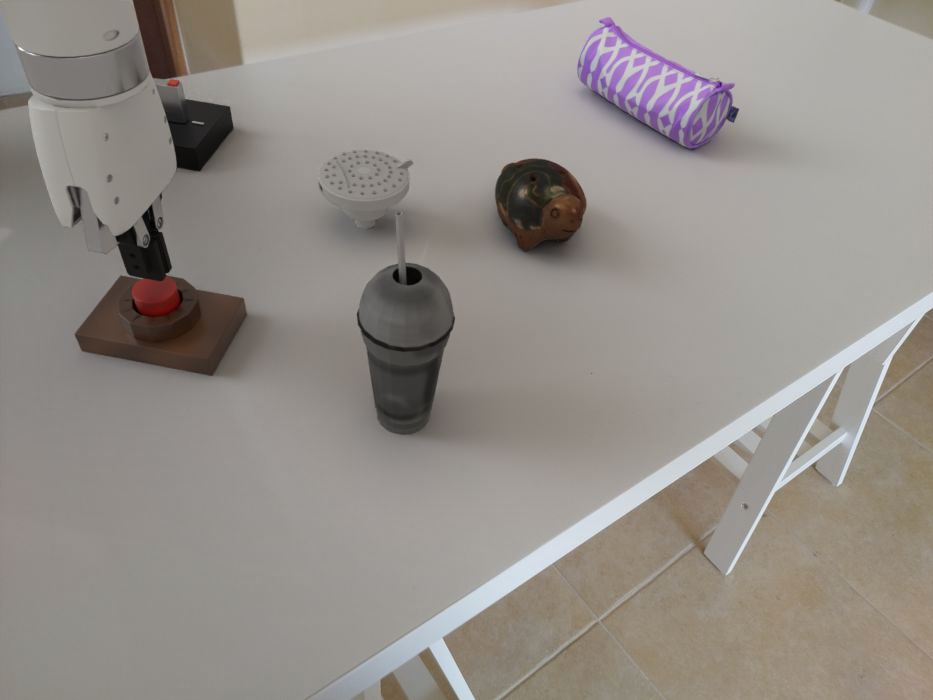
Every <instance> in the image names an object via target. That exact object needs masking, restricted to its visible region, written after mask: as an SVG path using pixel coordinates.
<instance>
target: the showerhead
mask: <svg viewBox="0 0 933 700" xmlns="http://www.w3.org/2000/svg"><path fill="white" fill-rule="evenodd" d="M413 165H414V161H413V160H412V159H411V158H407V159H405V160H403V161H401V160H400V159H399V158H397V157H395V156H394V155H392V154H389V153H386V152H383V151H378V150H372V149H354V150H347V151H343V152H339V153H337V154H333V155H332V156H331V157H329V158H327V159H326V160H324V162H322V164H321V165H320V167H319V168H318V171H317V179H318V189H319V191H320V193H321V195H322V196H323V198H324V199H326V200H327V201H328V202H330V203H332V204H333V205H335V206H337V207H340V208H342V211H343V213H344V214H345V215H346V216H347V217H349V218H351V219H352V220H354V224H355V226H356V227H358V228H359V229H365V230H367V229H372V228H373V227H375V225H376V220H377V219H380V218H381V217H383V216H384V215H385V214H387V213H386V212H387V210H388V208H391V207H393V206H395V205H397V204H398V203H400V202H401V201H403V200H404V198H406V196H407V195H408V192H409V190H410V180H411V179H410V178H411V174H410V171H409V168H410V167H411V166H413Z"/></svg>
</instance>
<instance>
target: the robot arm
mask: <svg viewBox="0 0 933 700" xmlns="http://www.w3.org/2000/svg"><path fill="white" fill-rule="evenodd" d="M0 11H1V13H2V16H3V18H4V21H5V24H6V26H7V30H8V32H9V35H10V37H11V39H12V43H13V45H14V48H15V50H16V51H15V52H16V53H17V55H18V59H19V62H20V64H21V67H22V69H23V72H24V75H25V78H26V80H27V83H28V86H29V89H30V91H31V93H32V95H31V97H29V99H28V100H27V105H28V116H29V122H30V127H31V128H30V129H31V134H32V140H33V143H34V147H35V152H36V155H37V159H38V163H39V166H40V170H41V174H42V177H43V180H44V184H45V187H46V189H47V192H48V196H49V198H50V201H51V204H52V208H53V210H54V212H55V214H56V217H57V220H58V222H59V223H60V224H61V226H62V227H64V228H69V229H73V228H74V227H75V226H76V225H77V224H79V223H80V222H81V223H82V228H83V234H84V239H85V245H86V250H87V251H88V252H91V253H97V254H102V255H107V254H108V253H111V251H113V250H114V249H116V248H118V251H119V254H120V256H121V260H122V262H123V265H124V268H125V271H126V274H128V275H129V277H132V278H138V279H143V278H144V279H150V280H156V281H163V280H164V279H165V277H166V275H167V274H169V273H170V272H171V271H172V269H173V265H172V262H171V258H170V254H169V252H168V248H167V247H168V246H167V244H166V240H165V236H164V233H163V231H161V230H162V229H163V227H164V224H165V219H164V213H163V206H162V199H163V192H164V190H165V189H166V187H168V185H169V183H170V182H171V180H172V179H173V177H174V176H175V174H176V171H177V168H178V167H177V164H176V155H175V150H174V145H173V140H172V136H171V132H170V128H169V125H168V121H167V118H166V114H165V111H164V108H163V105H162V102H161V99H160V96H159V93H158V91H157V88H156V85H155V83H154V80H153V78H154V77H153V75H152V73H151V70H150V66H149V62H148V57H147V54H146V50H145V45H144V41H143V37H142V32H141V29H140V25H139V21H138V16H137V13H136V8H135V5H134V0H0Z"/></svg>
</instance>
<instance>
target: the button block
mask: <svg viewBox="0 0 933 700" xmlns="http://www.w3.org/2000/svg"><path fill="white" fill-rule="evenodd" d="M166 276H167V277H169V278H171V279H173V280H174V281H175V283H176V286H177V290H178V293H179V297H180V304H179V306H178V308H177V309H176V310H175V311H173V312H171V313H170V314H168V315H164V316H158V317H148V316H144V315H142V314H141V313H140V312H139V311H138V310H137V307H136V304H135V301H134V298H133V295H132V289H133V287H134V285H135V284H136V283H137V282H138V281H140V280H141V279H142V278H139V277H133V276H127V275H119V277H118V278H117V279H116V280H115V282H114V283H113V284H112V286H111V287H109V289H108V290H107V292H106V293H105V295H104V296H103V297H102V298H101V300H100V301H99V302H98V303H97V304H96V306H95V307H94V308H93V310H92V311H91V312H90V313H89V315H88V316H87V317H86V318H85V320H84V321H83V322H82V323H81V325H80V326H79V327H78V329H77V330H76V331H75V332H74V337H75V340H76V341H77V344H78V347H79V348H80V351H81V352H84V353H90V354H94V355H100V356H106V357H110V358H116V359H121V360H126V361H131V362H137V363H142V364H148V365H153V366H157V367H162V368H168V369H172V370H173V369H174V370H178V371H183V372H189V373H193V374H194V373H195V374H199V375H205V376H209V377H213V376H214V374H215V372H216V370H217V369H218V367H219V365H220V364H221V361H222V360H223V358H224V356H225V354H226V353H227V351H228V349H229V348H230V346H231V344H232V342H233V341H234V339H235V337H236V335H237V334H238V331H239V330H240V328H241V327H242V325H243V323H244V321H245V320H246V318H247V316H248V313H247V306H246V302H245V301H246V300H245V298H244V297H240V296H235V295H229V294H225V293H224V294H223V293H219V292H213V291H208V290H202V289H197V288H196V287H195V286H194V285H192V284H191V283H190V282H188V281H187V280H186V279H185V278H182V277H178V276H177V277H176V276H173V275H167V274H166Z"/></svg>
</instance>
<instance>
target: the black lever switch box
mask: <svg viewBox="0 0 933 700" xmlns="http://www.w3.org/2000/svg"><path fill="white" fill-rule="evenodd" d="M185 100H186V105H187V110H188V114H189V119H188V120H187V121H186V123H177V122H170V121H168V125H169V128H170V132H171V136H172V140H173V145H174V150H175V155H176V164H177V167H176V168H179V169H186V170H192V171H198V172H201V170H202V169H203V168H204V166H205V165H206V164H207V162H208V161H209V160H210V159H211V157H212V156H213V155H214V154H215V153H216V151H218V149H219V148H220V146H221V145H222V144H223V143H224V142H225V140H226V139H227V137H229V135H230V134H231V132H233V130H234V128H235V127H234V122H233V117H232V115H233V114H232V109H231V106H230V105H225V104H218V103H213V102H207V101H201V100H195V99H189V98H185Z"/></svg>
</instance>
